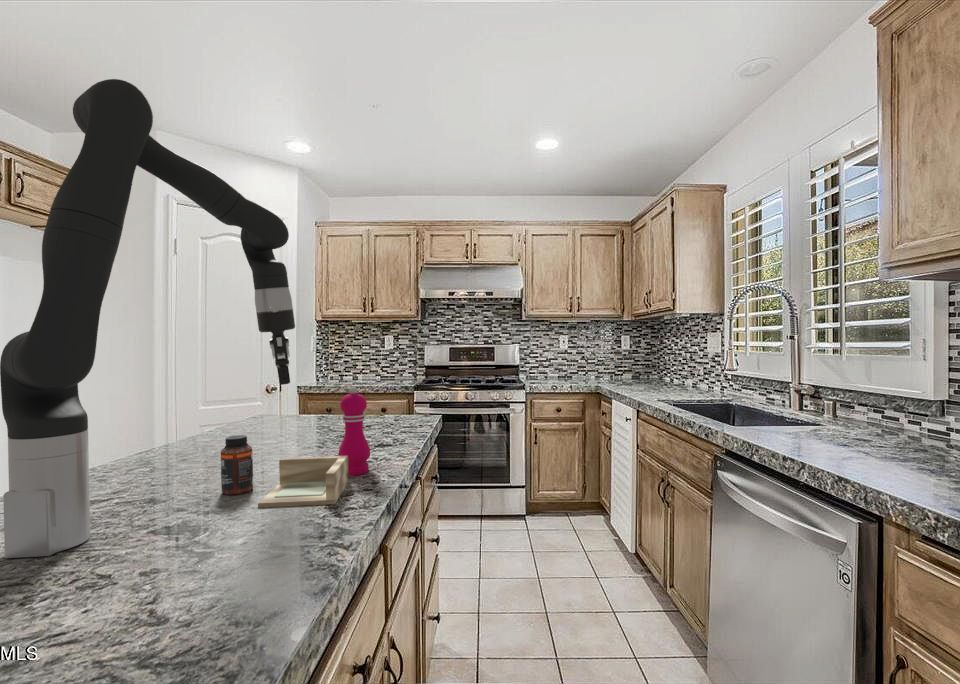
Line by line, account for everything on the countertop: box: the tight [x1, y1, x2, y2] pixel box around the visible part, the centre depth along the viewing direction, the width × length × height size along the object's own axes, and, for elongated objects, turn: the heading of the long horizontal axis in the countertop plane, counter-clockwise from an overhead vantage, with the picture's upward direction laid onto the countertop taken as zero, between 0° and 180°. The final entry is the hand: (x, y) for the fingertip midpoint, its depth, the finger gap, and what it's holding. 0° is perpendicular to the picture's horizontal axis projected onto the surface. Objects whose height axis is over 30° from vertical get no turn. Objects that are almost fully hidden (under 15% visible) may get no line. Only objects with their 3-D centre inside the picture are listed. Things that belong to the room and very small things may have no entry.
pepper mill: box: [337, 386, 371, 477], centre depth 113 cm, size 7×7×20 cm
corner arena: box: [257, 455, 350, 509], centre depth 97 cm, size 14×14×6 cm
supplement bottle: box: [220, 434, 254, 496], centre depth 100 cm, size 6×6×11 cm
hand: (284, 381), depth 108 cm, fingers open, 8 cm apart
